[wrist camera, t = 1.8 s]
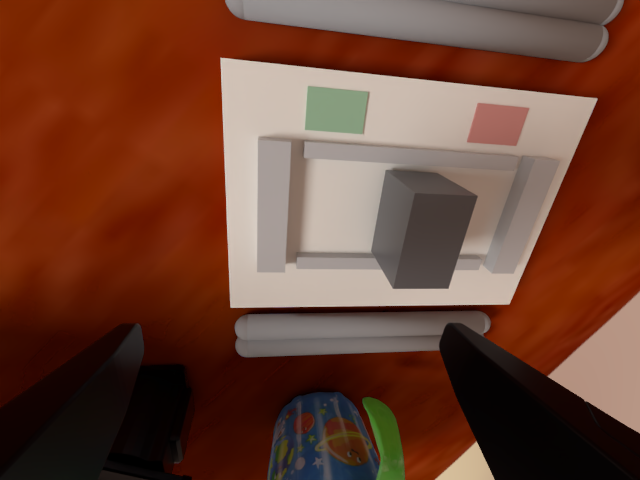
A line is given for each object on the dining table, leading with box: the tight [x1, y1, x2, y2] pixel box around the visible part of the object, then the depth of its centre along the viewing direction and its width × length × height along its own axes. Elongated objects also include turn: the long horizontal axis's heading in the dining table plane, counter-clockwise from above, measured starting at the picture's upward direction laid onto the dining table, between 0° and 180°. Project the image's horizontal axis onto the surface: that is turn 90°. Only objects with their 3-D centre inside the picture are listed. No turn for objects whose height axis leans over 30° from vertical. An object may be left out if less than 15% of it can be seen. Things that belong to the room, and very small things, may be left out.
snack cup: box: [267, 392, 405, 480], centre depth 25 cm, size 16×10×10 cm
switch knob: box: [371, 170, 478, 289], centre depth 17 cm, size 3×5×4 cm, turn 175°
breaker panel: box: [221, 58, 597, 308], centre depth 20 cm, size 20×14×3 cm
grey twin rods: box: [225, 0, 624, 357], centre depth 20 cm, size 20×24×2 cm
